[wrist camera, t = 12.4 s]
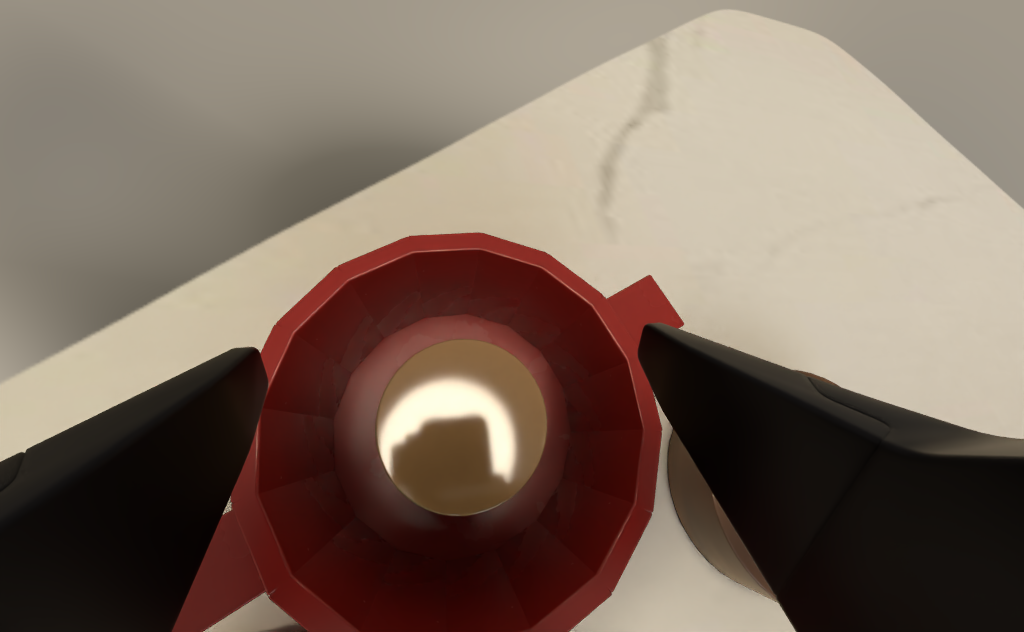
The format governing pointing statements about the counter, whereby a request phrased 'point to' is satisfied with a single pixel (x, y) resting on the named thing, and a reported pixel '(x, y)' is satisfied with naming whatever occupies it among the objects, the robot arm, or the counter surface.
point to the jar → (461, 427)
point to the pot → (388, 513)
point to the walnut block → (712, 519)
